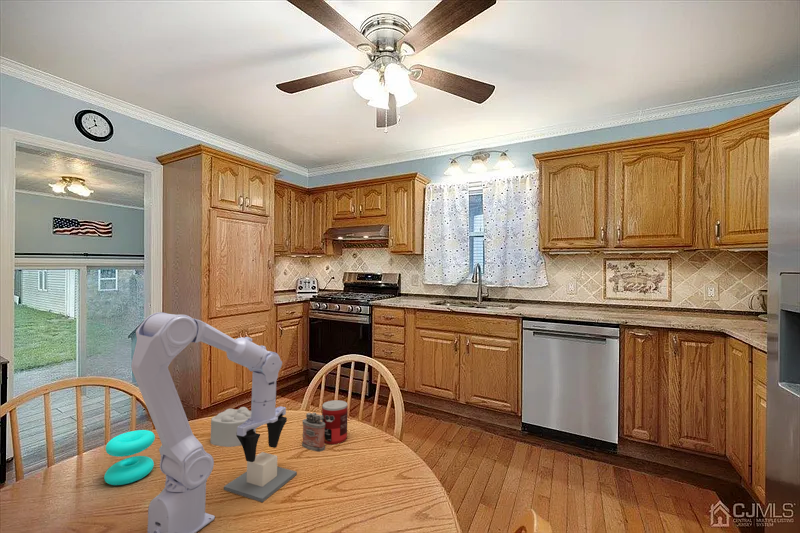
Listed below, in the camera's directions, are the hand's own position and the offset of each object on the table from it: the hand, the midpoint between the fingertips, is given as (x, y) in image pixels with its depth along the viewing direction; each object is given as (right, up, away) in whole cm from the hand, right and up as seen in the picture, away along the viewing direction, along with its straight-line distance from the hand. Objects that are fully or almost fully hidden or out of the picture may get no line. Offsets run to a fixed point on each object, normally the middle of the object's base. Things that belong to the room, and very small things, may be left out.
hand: (262, 453), depth 86 cm
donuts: (-35, -7, +2) cm, 36 cm away
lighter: (+8, -8, +18) cm, 21 cm away
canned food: (+14, -8, +23) cm, 28 cm away
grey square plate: (0, -7, 0) cm, 7 cm away
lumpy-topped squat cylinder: (-18, -8, +23) cm, 30 cm away
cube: (0, -6, 0) cm, 6 cm away
